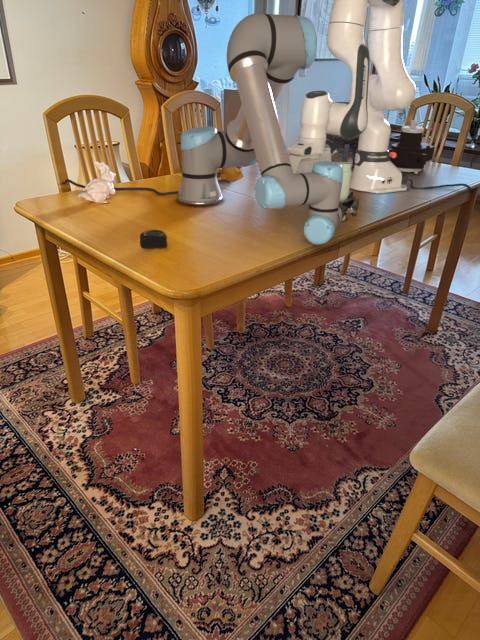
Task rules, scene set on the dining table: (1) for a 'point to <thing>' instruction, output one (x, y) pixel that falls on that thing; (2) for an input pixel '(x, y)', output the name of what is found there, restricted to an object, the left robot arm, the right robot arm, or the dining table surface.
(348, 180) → the pale green cylinder
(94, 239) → the dining table surface
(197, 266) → the dining table surface
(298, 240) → the dining table surface
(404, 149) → the mechanical component
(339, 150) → the rock
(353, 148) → the planter
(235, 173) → the toy
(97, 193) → the figurine
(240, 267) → the dining table surface
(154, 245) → the tape measure
